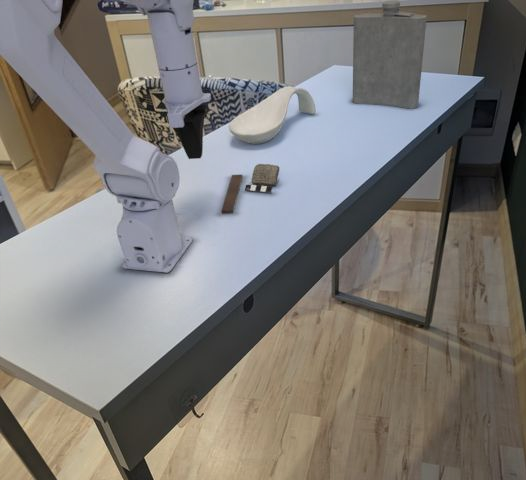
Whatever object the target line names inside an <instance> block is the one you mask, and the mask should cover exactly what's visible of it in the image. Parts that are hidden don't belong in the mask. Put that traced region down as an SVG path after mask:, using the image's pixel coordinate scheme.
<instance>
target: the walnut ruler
mask: <svg viewBox="0 0 526 480" xmlns="http://www.w3.org/2000/svg"><path fill="white" fill-rule="evenodd" d="M243 178H244V177H243V174H231V178H230V181H229V183H228V186H227V187H228V188H227V191H226V194H225V198H224V201H223V204H222V207H221V214H224V215H225V214H234V212H235V207H236V204H237V200H238V196H239V193H240V190H241V185H242V181H243Z"/></svg>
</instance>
